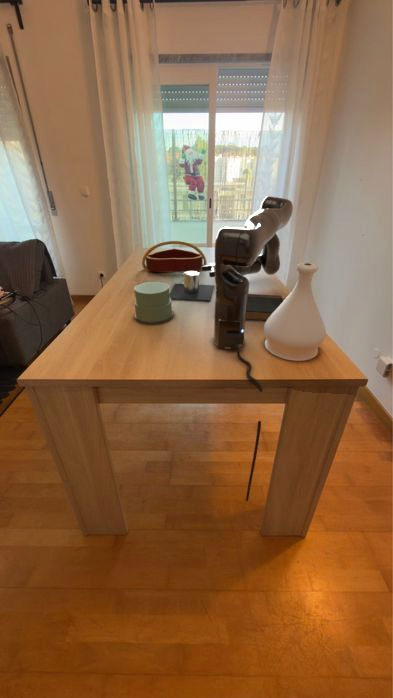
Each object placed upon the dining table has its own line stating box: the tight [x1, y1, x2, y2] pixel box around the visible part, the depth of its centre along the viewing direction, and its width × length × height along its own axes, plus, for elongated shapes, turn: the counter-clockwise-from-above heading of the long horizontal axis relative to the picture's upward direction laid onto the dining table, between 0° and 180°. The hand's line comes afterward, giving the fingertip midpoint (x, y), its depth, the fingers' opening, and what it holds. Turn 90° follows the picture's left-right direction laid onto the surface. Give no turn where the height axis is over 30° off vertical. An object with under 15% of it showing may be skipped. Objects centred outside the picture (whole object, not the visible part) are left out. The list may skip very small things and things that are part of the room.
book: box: [246, 293, 284, 322], centre depth 108 cm, size 17×4×25 cm
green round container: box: [133, 281, 174, 325], centre depth 101 cm, size 14×14×11 cm
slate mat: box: [169, 283, 215, 303], centre depth 124 cm, size 18×18×1 cm
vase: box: [263, 262, 327, 362], centre depth 80 cm, size 17×17×25 cm
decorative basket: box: [141, 240, 207, 273], centre depth 149 cm, size 34×29×15 cm
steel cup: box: [183, 271, 200, 294], centre depth 122 cm, size 7×7×8 cm
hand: (205, 271), depth 122 cm, fingers open, 8 cm apart
